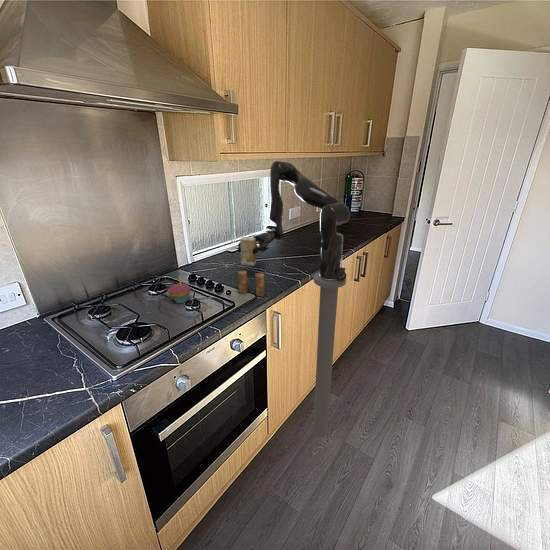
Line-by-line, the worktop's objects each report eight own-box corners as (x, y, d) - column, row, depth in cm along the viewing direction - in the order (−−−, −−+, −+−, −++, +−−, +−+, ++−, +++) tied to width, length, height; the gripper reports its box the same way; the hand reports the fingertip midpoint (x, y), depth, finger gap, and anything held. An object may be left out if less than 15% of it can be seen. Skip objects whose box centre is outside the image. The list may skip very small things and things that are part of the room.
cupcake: (196, 299, 119) (192, 272, 115) (179, 307, 113) (174, 279, 108) (182, 293, 124) (178, 267, 119) (165, 302, 118) (160, 274, 113)
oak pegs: (266, 293, 123) (265, 273, 120) (262, 296, 120) (261, 276, 117) (241, 289, 127) (240, 269, 124) (237, 292, 124) (236, 273, 121)
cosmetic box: (241, 265, 134) (239, 239, 129) (243, 262, 138) (241, 236, 133) (254, 265, 133) (253, 239, 128) (256, 262, 137) (255, 237, 132)
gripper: (247, 232, 146) (231, 241, 132) (274, 234, 141) (260, 244, 127) (248, 246, 149) (232, 257, 135) (274, 249, 144) (260, 260, 130)
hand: (246, 251), depth 131 cm, fingers closed on cosmetic box, 7 cm apart
